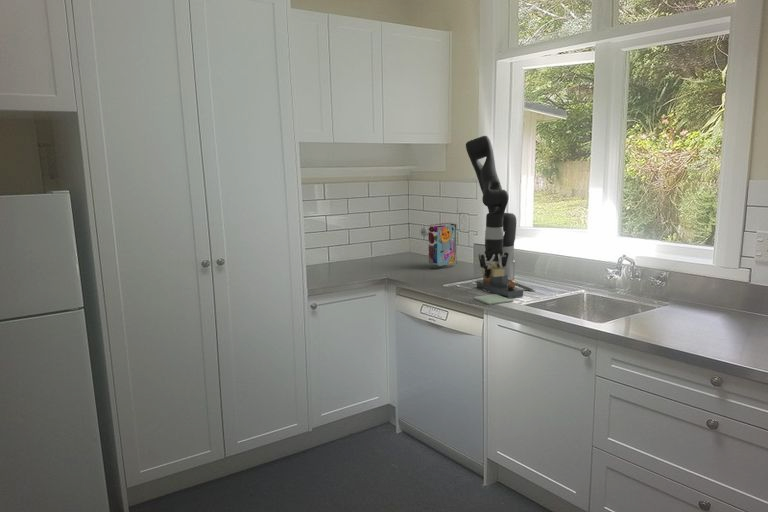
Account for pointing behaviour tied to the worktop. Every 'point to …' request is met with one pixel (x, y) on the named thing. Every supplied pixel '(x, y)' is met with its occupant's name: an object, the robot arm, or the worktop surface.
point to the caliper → (522, 286)
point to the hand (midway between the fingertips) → (493, 277)
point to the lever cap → (495, 271)
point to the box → (441, 244)
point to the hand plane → (500, 286)
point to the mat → (493, 299)
